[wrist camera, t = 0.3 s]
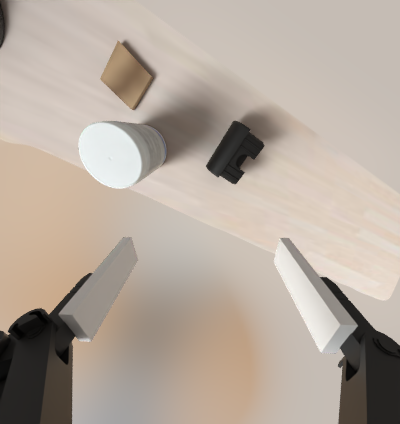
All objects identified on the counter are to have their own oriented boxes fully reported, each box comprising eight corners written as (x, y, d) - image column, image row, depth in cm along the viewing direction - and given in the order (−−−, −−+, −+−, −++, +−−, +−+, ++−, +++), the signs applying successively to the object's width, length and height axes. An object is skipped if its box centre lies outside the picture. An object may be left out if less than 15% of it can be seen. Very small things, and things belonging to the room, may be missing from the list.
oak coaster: (103, 80, 29) (100, 79, 28) (121, 43, 27) (118, 40, 26) (133, 110, 31) (131, 109, 30) (153, 78, 29) (151, 76, 28)
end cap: (231, 121, 31) (236, 118, 25) (257, 141, 33) (268, 142, 27) (205, 163, 36) (205, 169, 29) (230, 179, 37) (234, 187, 31)
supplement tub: (139, 114, 31) (91, 99, 18) (176, 146, 34) (156, 153, 21) (119, 151, 35) (67, 161, 22) (153, 178, 38) (124, 201, 25)
